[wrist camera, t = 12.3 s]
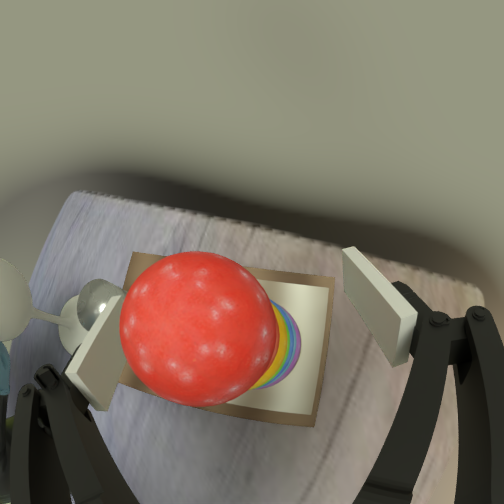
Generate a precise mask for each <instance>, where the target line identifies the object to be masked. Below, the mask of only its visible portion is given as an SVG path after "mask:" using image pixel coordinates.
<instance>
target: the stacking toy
mask: <svg viewBox="0 0 504 504" xmlns="http://www.w3.org/2000/svg"><path fill="white" fill-rule="evenodd" d="M119 333H120V340H121V345H122V349H123V352H124V354H125V357H126V359H127V362H128V364H129V365H130V367H131V368H132V370H133V371H134V373H135V375H136V376H137V377H138V378H139V379H140V380H141V381H142V382H143V383H144V384H145V385H146V386H147V387H148V388H149V389H150V390H152V391H153V392H154V393H156V394H157V395H158V396H160V397H162V398H164V399H167V400H169V401H172V402H175V403H178V404H182V405H186V406H194V407H206V406H214V405H219V404H223V403H226V402H228V401H231V400H233V399H235V398H237V397H239V396H240V395H242V394H243V393H245V392H246V391H248V390H256V389H263V388H267V387H270V386H273V385H275V384H277V383H279V382H280V381H282V380H283V379H284V378H286V377H287V376H288V375H289V374H290V373H291V371H292V370H293V369H294V367H295V366H296V364H297V362H298V360H299V357H300V353H301V345H302V343H301V334H300V331H299V328H298V326H297V324H296V322H295V320H294V319H293V317H292V316H291V315H290V314H289V313H288V312H287V311H286V310H285V309H284V308H283V307H281V306H280V305H278V304H277V303H275V302H273V301H272V300H271V299H269V297H268V295H267V293H266V292H265V290H264V288H263V287H262V286H261V284H260V283H259V282H258V280H257V279H256V278H255V277H254V276H253V275H252V274H251V273H250V272H249V271H248V270H246V269H245V268H243V267H242V266H241V265H239V264H238V263H236V262H234V261H232V260H230V259H228V258H226V257H223V256H220V255H218V254H214V253H208V252H200V251H190V252H183V253H178V254H174V255H170V256H167V257H165V258H163V259H161V260H159V261H157V262H156V263H154V264H153V265H151V266H150V267H148V268H147V269H146V270H145V271H144V272H143V273H142V274H141V275H140V276H139V277H138V278H137V279H136V280H135V282H134V283H133V284H132V286H131V287H130V289H129V291H128V293H127V295H126V297H125V299H124V302H123V305H122V309H121V313H120V322H119Z"/></svg>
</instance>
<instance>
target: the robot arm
mask: <svg viewBox="0 0 504 504" xmlns="http://www.w3.org/2000/svg"><path fill="white" fill-rule="evenodd" d="M342 260H343V278H344V291H345V293H346V294H347V296H348V297H349V299H350V300H351V302H352V304H353V305H354V307H355V308H356V310H357V311H358V313H359V314H360V316H361V317H362V319H363V321H364V322H365V324H366V325H367V327H368V328H369V330H370V332H371V333H372V335H373V336H374V338H375V340H376V341H377V343H378V345H379V346H380V348H381V349H382V351H383V353H384V354H385V356H386V358H387V359H388V361H389V363H390V364H391V366H392V368H393V367H396V366H398V365H401V364H403V363H406V362H407V361H408V357H409V353H410V354H411V355H412V357H413V358H414V360H413V364H412V368H411V371H410V375H409V378H408V381H407V384H406V388H405V391H404V394H403V397H402V400H401V402H400V405H399V408H398V411H397V413H396V416H395V419H394V421H393V424H392V426H391V429H390V431H389V434H388V436H387V438H386V441H385V443H384V445H383V447H382V449H381V452H380V454H379V456H378V458H377V460H376V462H375V464H374V466H373V468H372V470H371V472H370V474H369V476H368V477H367V479H366V481H365V483H364V485H363V486H362V488H361V490H360V492H359V493H358V495H357V497H356V498H355V500H354V502H353V503H352V504H410V503H411V500H412V496H413V494H412V491H413V488H414V485H415V483H416V481H417V478H418V476H419V473H420V471H421V468H422V465H423V463H424V460H425V457H426V454H427V451H428V448H429V445H430V442H431V439H432V436H433V432H434V429H435V425H436V421H437V418H438V414H439V409H440V405H441V401H442V396H443V391H444V386H445V380H446V374H447V368H448V365H453V370H454V378H455V386H456V396H457V408H458V430H459V454H458V473H457V484H456V494H455V501H454V504H504V346H503V343H502V340H501V338H500V335H499V333H498V330H497V327H496V324H495V322H494V319H493V317H492V315H491V313H490V311H489V310H487V309H486V308H484V307H482V306H472V307H470V308H469V309H468V310H467V312H466V315H465V317H461V318H454V319H451V318H450V317H449V316H448V315H447V314H445V313H443V312H439V311H432V310H431V309H430V308H429V307H428V306H427V305H426V304H425V303H424V302H423V301H422V300H421V299H420V298H419V297H418V296H417V294H416V293H415V292H413V290H412V289H411V288H410V287H408V286H407V285H406V284H404V283H402V282H400V281H397V282H393V283H390V282H389V281H388V280H387V279H386V278H385V277H384V276H383V275H382V274H381V273H380V272H379V271H378V270H377V269H376V268H375V267H374V266H373V265H372V264H371V263H370V262H369V261H368V260H367V259H366V258H365V257H364V256H363V255H362V254H361V253H360V252H359V251H358V250H357V249H356V248H355V247H350V248H345V249H342ZM123 302H124V299H123V297H122V295H119V296H113V297H111V298H110V300H109V301H108V303H107V304H106V306H105V307H104V309H103V310H102V312H101V313H100V315H99V317H98V318H97V320H96V321H95V323H94V324H93V326H92V327H91V329H90V331H89V332H88V334H87V336H86V337H85V339H84V340H83V342H82V343H81V344H80V345H79V346H78V347H77V348H76V350H75V351H74V353H73V355H72V356H71V358H70V361H69V362H68V363H67V365H66V367H65V368H64V370H63V372H62V374H61V376H60V375H59V373H58V372H57V371H56V369H55V368H54V367H53V365H51V364H46V365H43V366H42V367H40V368H39V369H38V370H37V371H36V373H35V376H34V379H35V380H36V381H37V383H38V384H39V385H40V386H41V388H42V389H40V390H37V389H36V387H35V386H34V385H33V384H27V385H24V386H23V387H22V388H21V390H20V391H19V394H18V399H17V404H16V410H15V415H14V416H12V417H9V418H7V419H6V411H7V400H8V394H9V392H10V386H9V374H10V357H9V354H8V352H7V349H6V347H5V346H4V344H3V343H2V341H0V504H6V503H10V502H11V504H72V502H71V497H70V494H72V496H73V498H74V500H75V504H140V503H139V502H138V500H137V499H136V497H135V496H134V494H133V493H132V491H131V489H130V488H129V486H128V485H127V483H126V481H125V480H124V478H123V476H122V475H121V473H120V471H119V469H118V468H117V466H116V464H115V462H114V460H113V458H112V456H111V455H110V453H109V451H108V449H107V447H106V445H105V443H104V441H103V438H102V436H101V434H100V432H99V430H98V428H97V425H96V423H95V421H94V418H93V416H92V414H91V412H90V411H89V409H88V405H89V403H90V404H91V406H92V407H93V408H94V409H95V410H96V411H108V408H109V405H110V403H111V400H112V397H113V394H114V392H115V389H116V386H117V384H118V381H119V378H120V376H121V373H122V370H123V368H124V365H125V363H126V360H127V359H126V357H125V354H124V352H123V349H122V345H121V340H120V333H119V322H120V313H121V309H122V305H123Z"/></svg>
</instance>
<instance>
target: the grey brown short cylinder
mask: <svg viewBox="0 0 504 504" xmlns="http://www.w3.org/2000/svg"><path fill="white" fill-rule="evenodd" d="M127 293H128V292H127V291H125V290H123V289H121V288H119V287H117V286H115V285H114V284H112V283H110V282H108V281H106V280H103V279H95V280H92V281H90V282H89V283H87V284H86V285H85V286H84V288H83V289H82V291H81V292H80V295H79V297H78V301H77V315H78V319H79V321H80V323H81V325H82V326H83V328H85V329H86V330H87V331H90V329H91V327H92V326H93V324H94V323H95V321H96V320H97V318H98V317H99V315H100V313H101V312H102V310H103V309H104V307H105V306H106V304H107V303H108V301H109V300H110V298H111V297H113V296H119V295H122V297H123V299H125V297H126V295H127Z"/></svg>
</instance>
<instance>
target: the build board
mask: <svg viewBox="0 0 504 504" xmlns="http://www.w3.org/2000/svg"><path fill="white" fill-rule="evenodd" d="M165 257H167V256H160V255H153V254H146V253H139V252H133V253H132V257H131V260H130V264H129V267H128V271H127V274H126V278H125V282H124V286H123V290H125V291H127V292H128V291H129V289H130V287H131V286H132V284H133V283H134V282H135V280H136V279H137V278H138V277H139V276H140V275H141V274H142V273H143V272H144V271H145V270H146V269H147V268H148V267H150V266H151V265H153V264H154V263H156V262H157V261H159V260H161V259H163V258H165ZM242 267H243V266H242ZM243 268H245V269H246V270H248V271H249V272H250V273H251V274H252V275H253V276H254V277H255V278H256V279H257V280H258V282H259V283H260V284H261V286H262V287H263V288H264V290H265V292H266V293H267V295H268V297H269V299H271V300H272V301H273V302H275V303H277V304H278V305H280V306H281V307H283V308H284V309H285V310H286V311H287V312H288V313H289V314H290V315H291V316H292V317H293V319H294V320H295V322H296V324H297V326H298V328H299V331H300V334H301V343H302V345H301V353H300V357H299V360H298V362H297V364H296V366H295V367H294V369H293V370H292V371H291V373H290V374H289V375H288V376H287V377H286V378H284V379H283V380H282V381H280V382H279V383H277V384H275V385H273V386H270V387H267V388H263V389H256V390H248V391H246V392H245V393H243V394H242V395H240V396H239V397H237V398H235V399H233V400H231V401H228V402H226V403H223V404H219V405H214V406H206V407H195V408H198V409H202V410H206V411H211V412H215V413H219V414H224V415H229V416H234V417H239V418H244V419H250V420H256V421H262V422H269V423H277V424H285V425H294V426H305V427H314V426H315V421H316V416H317V411H318V405H319V400H320V394H321V389H322V383H323V377H324V370H325V364H326V357H327V349H328V342H329V334H330V325H331V316H332V306H333V295H334V283H335V277H326V276H317V275H309V274H300V273H292V272H283V271H275V270H267V269H259V268H251V267H243ZM118 382H119V383H121V384H124V385H126V386H129V387H132V388H134V389H137V390H140V391H143V392H145V393H148V394H151V395H154V396H157V397H160V396H158V395H157V394H156V393H154V392H153V391H152V390H150V389H149V388H148V387H147V386H146V385H145V384H144V383H143V382H142V381H141V380H140V379H139V378H138V377H137V376H136V375H135V373H134V371H133V370H132V368H131V367H130V365H129V364H128V362H127V360H126V363H125V365H124V368H123V370H122V373H121V376H120V378H119V381H118ZM160 398H162V397H160ZM163 399H164V398H163ZM191 407H194V406H191Z"/></svg>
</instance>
